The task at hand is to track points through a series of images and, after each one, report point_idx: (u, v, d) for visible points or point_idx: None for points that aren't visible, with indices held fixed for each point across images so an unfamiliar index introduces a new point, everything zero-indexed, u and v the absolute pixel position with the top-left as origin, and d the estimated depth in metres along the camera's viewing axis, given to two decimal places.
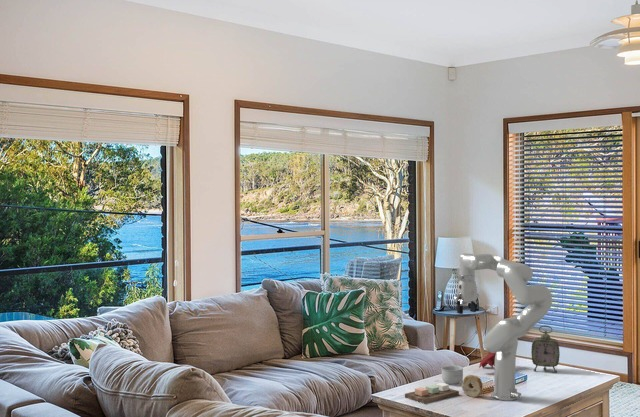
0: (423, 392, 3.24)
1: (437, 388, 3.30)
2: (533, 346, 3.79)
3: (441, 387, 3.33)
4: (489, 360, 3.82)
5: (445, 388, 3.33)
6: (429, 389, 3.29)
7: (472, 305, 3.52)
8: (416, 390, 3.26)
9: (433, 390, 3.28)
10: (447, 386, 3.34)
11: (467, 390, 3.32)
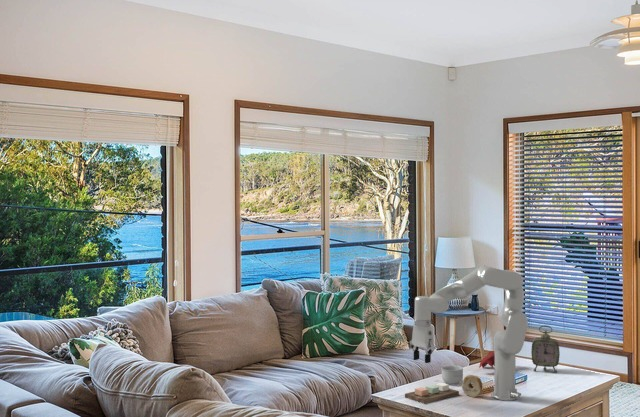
0: (423, 392, 3.24)
1: (437, 388, 3.30)
2: (533, 346, 3.79)
3: (441, 387, 3.33)
4: (489, 360, 3.82)
5: (445, 388, 3.33)
6: (429, 389, 3.29)
7: (417, 353, 3.29)
8: (416, 390, 3.26)
9: (433, 390, 3.28)
10: (447, 386, 3.34)
11: (467, 390, 3.32)
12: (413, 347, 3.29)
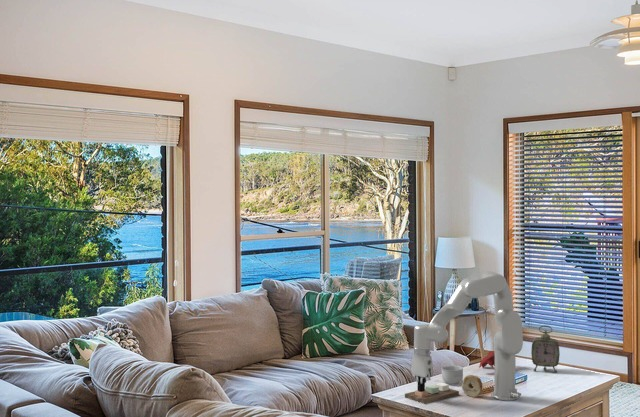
0: (423, 394, 3.24)
1: (437, 388, 3.30)
2: (533, 346, 3.79)
3: (441, 387, 3.33)
4: (489, 360, 3.82)
5: (445, 388, 3.33)
6: (429, 389, 3.29)
7: None
8: (416, 392, 3.26)
9: (433, 390, 3.28)
10: (447, 386, 3.34)
11: (467, 390, 3.32)
12: (416, 378, 3.27)
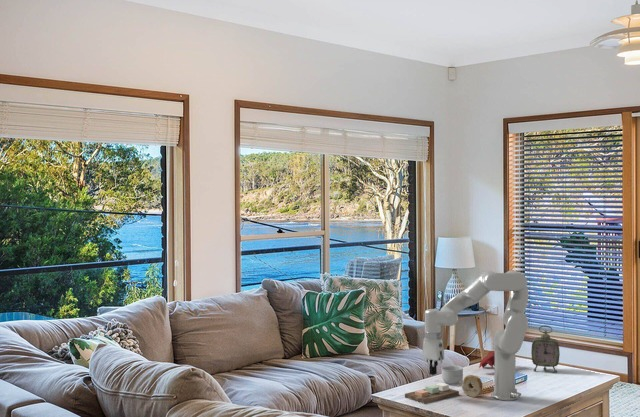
0: (423, 394, 3.24)
1: (437, 388, 3.30)
2: (533, 346, 3.79)
3: (441, 387, 3.33)
4: (489, 360, 3.82)
5: (445, 388, 3.33)
6: (429, 389, 3.29)
7: None
8: (416, 392, 3.26)
9: (433, 390, 3.28)
10: (447, 386, 3.34)
11: (467, 390, 3.32)
12: (428, 362, 3.31)
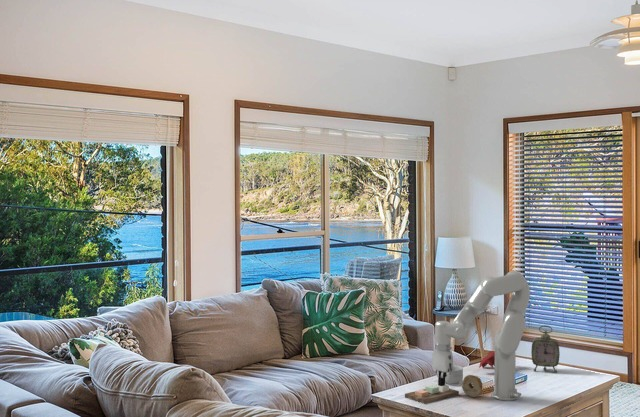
0: (423, 394, 3.24)
1: (437, 388, 3.30)
2: (533, 346, 3.79)
3: (441, 388, 3.33)
4: (489, 360, 3.82)
5: (445, 389, 3.33)
6: (429, 389, 3.29)
7: None
8: (416, 392, 3.26)
9: (433, 390, 3.28)
10: (447, 387, 3.34)
11: (467, 390, 3.32)
12: (437, 373, 3.36)
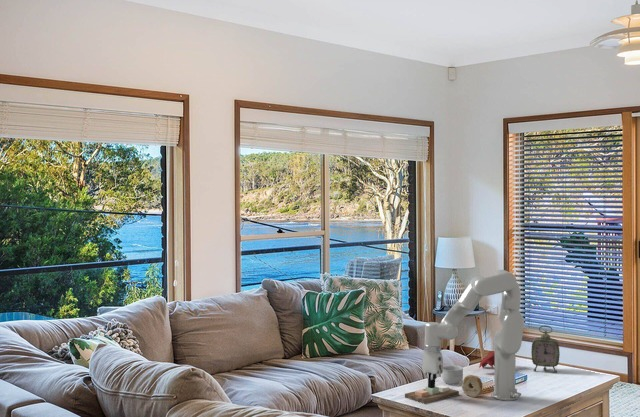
0: (423, 394, 3.24)
1: (437, 389, 3.30)
2: (533, 346, 3.79)
3: (441, 389, 3.33)
4: (489, 360, 3.82)
5: (445, 390, 3.33)
6: (429, 390, 3.29)
7: None
8: (416, 392, 3.26)
9: (433, 391, 3.28)
10: (447, 388, 3.34)
11: (467, 390, 3.32)
12: None
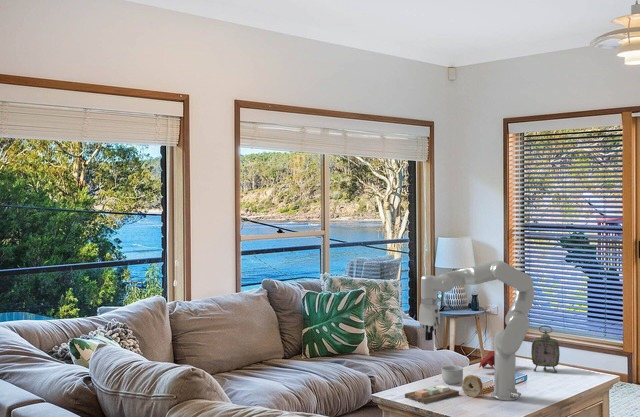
0: (423, 394, 3.24)
1: (437, 390, 3.30)
2: (533, 346, 3.79)
3: (441, 389, 3.33)
4: (489, 360, 3.82)
5: (445, 390, 3.33)
6: (429, 391, 3.29)
7: None
8: (416, 392, 3.26)
9: (433, 392, 3.28)
10: (447, 388, 3.34)
11: (467, 390, 3.32)
12: (424, 327, 3.33)
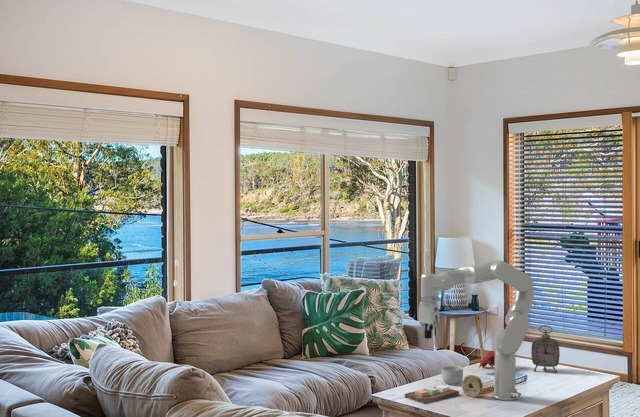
0: (423, 394, 3.24)
1: (437, 390, 3.30)
2: (533, 346, 3.79)
3: (441, 389, 3.33)
4: (489, 360, 3.82)
5: (445, 390, 3.33)
6: (429, 391, 3.29)
7: None
8: (416, 392, 3.26)
9: (433, 392, 3.28)
10: (447, 388, 3.34)
11: (467, 390, 3.32)
12: (423, 326, 3.33)
